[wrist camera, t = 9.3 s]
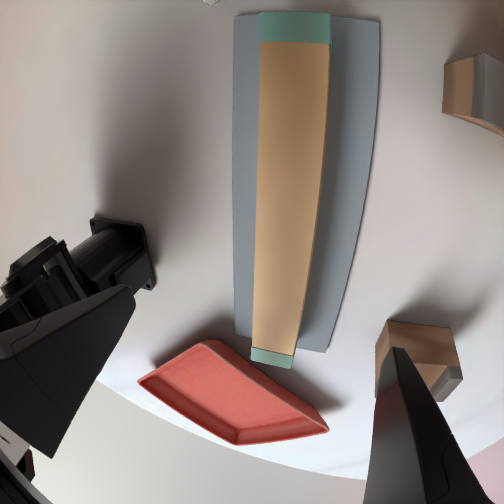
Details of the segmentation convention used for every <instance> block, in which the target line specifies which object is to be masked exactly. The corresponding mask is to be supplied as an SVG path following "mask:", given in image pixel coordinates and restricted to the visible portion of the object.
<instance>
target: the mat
mask: <svg viewBox="0 0 504 504" xmlns="http://www.w3.org/2000/svg"><path fill="white" fill-rule="evenodd" d="M330 17H331V24H332V56H331V72H330V94H329V111H328V125H327V138H326V150H325V160H324V170H323V180H322V189H321V197H320V206H319V214H318V221H317V229H316V236H315V243H314V249H313V256H312V262H311V269H310V275H309V281H308V287H307V293H306V298H305V304H304V309H303V315H302V320H301V325H300V327H301V328H300V333H299V338H298V343H297V347H296V348H300V349H306V350H311V351H316V352H322V353H326V350H327V347H328V344H329V341H330V338H331V334H332V331H333V328H334V325H335V321H336V318H337V315H338V311H339V308H340V304H341V301H342V297H343V293H344V290H345V286H346V282H347V278H348V274H349V270H350V266H351V262H352V258H353V253H354V249H355V245H356V240H357V235H358V231H359V226H360V221H361V216H362V211H363V205H364V200H365V194H366V188H367V182H368V175H369V169H370V162H371V154H372V146H373V138H374V129H375V119H376V107H377V94H378V75H379V23H378V22H373V21H368V20H361V19H355V18H347V17H339V16H330ZM259 27H260V14H253V15H240V16H235V22H234V60H233V134H232V193H233V272H234V315H235V334H238V335H242V336H246V337H250V338H252V330H253V299H254V266H255V233H256V198H257V162H258V125H259V85H260V44H261V42H259Z"/></svg>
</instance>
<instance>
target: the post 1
mask: <svg viewBox="0 0 504 504" xmlns="http://www.w3.org/2000/svg"><path fill="white" fill-rule="evenodd" d="M392 346H398V347H403V348H405V350H406V351H407V353H408V354H409V356H410V358H411V359H412V361H413V363H414V364H415V366H416V368H417V369H418V371H419V373H420V375H421V376H422V378H423V380H424V381H425V383H426V385H427V387H428V389H430V392H431V394H432V396H433V397H434V399H435V401H436V402H443V401H444V400H445V399H446V398H447V397H448V396H449V395H450V394H451V393H452V391H453V390H454V389H455V388H456V387H457V386H458V385H459V383H460V382H461V381H462V380H463V376H462V371H461V367H460V362H459V358H458V354H457V350H456V346H455V343H454V339H453V335H452V332H451V328H443V327H435V326H427V325H420V324H412V323H405V322H398V321H392V320H387V321H386V323H385V326H384V328H383V330H382V332H381V334H380V337H379V339H378V341H377V343H376V345H375V398H377V391H378V385H379V377H380V370H381V365H382V362H383V360H384V358H385V357H386V355H387V353H388V351H389V349H390V348H391V347H392Z"/></svg>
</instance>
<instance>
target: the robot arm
mask: <svg viewBox="0 0 504 504" xmlns="http://www.w3.org/2000/svg"><path fill="white" fill-rule="evenodd" d="M90 227H91V231H92V236H91V237H89V238H88V239H86V240H85V241H84V242H82V243H81V244H79V245H78V246H77V247H75V248H74V249H73V250H71V251H70V252H69V251H68V249H67V247H66V246H67V245H66V243H65V241H64V239H63V240H61V241H59V242H57V241H56V240H54V239H53V238H52V237H51V236H49V237H47V238H46V239H45V240H43V241H42V242H40V243H39V244H37V245H36V246H34V247H33V248H32V249H30V250H29V251H28V252H26V253H25V254H24V255H22V256H21V257H20V258H19V259H17V260H16V261H15V262H14V263H12V264H11V265H10V270H9V276H8V277H7V278H6V281H5V282H4V283H3V284H2V285H1V286H0V289H1V290H2V292H3V295H2V296H0V504H52V503H51V502H50V501H49V500H48V499H47V498H46V497H45V496H44V495H43V494H41V493H40V492H39V491H38V490H37V489H36V488H35V487H34V486H33V485H32V484H31V483H30V482H31V481H32V479H33V478H34V476H35V471H34V465H33V457H32V451H31V450H30V449H29V447H30V445H31V446H32V447H34V448H35V449H37V450H38V451H40V452H41V453H42V454H44V455H45V456H47V457H48V458H50V459H52V458H53V457H54V455H55V453H56V451H57V449H58V447H59V445H60V443H61V441H62V439H63V437H64V435H65V433H66V431H67V429H68V427H69V426H70V424H71V421H72V420H73V418H74V416H75V414H76V412H77V411H78V409H79V407H80V405H81V403H82V401H83V400H84V398H85V396H86V395H87V393H88V391H89V389H90V387H91V386H92V384H93V383H94V381H95V379H96V377H97V376H98V375H99V373H100V372H101V370H102V369H103V367H104V365H105V363H106V361H107V359H108V358H109V356H110V354H111V353H112V351H113V350H114V348H115V346H116V345H117V343H118V341H119V340H120V338H121V336H122V334H123V332H124V330H125V328H126V326H127V324H128V322H129V320H130V318H131V316H132V314H133V312H134V310H135V308H136V302H135V299H134V294H135V293H136V292H137V291H138V290H139V289H140V288H143V289H146V290H150V291H151V290H152V289H153V288H154V287H155V283H154V278H153V274H152V269H151V264H150V259H149V254H148V248H147V243H146V237H145V231H144V228H143V226H142V225H140V224H136V223H130V222H123V221H117V220H110V219H104V218H97V217H93V218H92V219H90ZM137 229H138V230H139V231H138V230H137ZM43 265H44V266H43ZM44 267H45V268H44ZM45 269H46V270H45ZM451 433H452V432H451V430H450V428H449V426H448V424H447V422H446V420H445V418H444V416H443V414H442V412H441V410H440V409H439V407H438V405H437V403H436V401H435V399H434V397H433V396H432V394H431V392H430V390H429V389H428V387H427V385H426V383H425V381H424V380H423V378H422V376H421V375H420V373H419V371H418V369H417V368H416V366H415V364H414V363H413V361H412V359H411V358H410V356H409V354H408V353H407V351H406V350H405V348H403V347H398V346H392V347H391V348H390V349H389V351H388V353H387V355H386V357H385V358H384V360H383V362H382V365H381V370H380V377H379V385H378V391H377V398H376V404H375V410H374V423H373V435H372V446H371V455H370V463H369V470H368V477H367V484H366V490H365V495H364V501H363V504H495V503H493V502H492V501H491V500H490V499H489V498H488V497H487V495H486V494H485V492H484V490H483V489H482V487H481V485H480V484H479V481H478V480H477V478H476V477H475V475H474V473H473V471H472V470H471V468H470V466H469V464H468V463H467V461H466V459H465V457H464V455H463V453H462V451H461V450H460V448H459V446H458V444H457V442H456V440H455V438H454V436H453V434H451Z"/></svg>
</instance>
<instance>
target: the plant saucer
mask: <svg viewBox="0 0 504 504" xmlns="http://www.w3.org/2000/svg"><path fill="white" fill-rule="evenodd" d="M137 382H138V384H139V385H140V386H141V387H143V388H144V389H145V390H147V391H148V392H150V393H151V394H152V395H154V396H155V397H156V398H158V399H159V400H160V401H162V402H163V403H165V404H166V405H168V406H169V407H171V408H172V409H173V410H175V411H176V412H178V413H180V414H181V415H183V416H184V417H186V418H187V419H189V420H190V421H192V422H194V423H195V424H197V425H199V426H200V427H202V428H204V429H205V430H207V431H209V432H210V433H212V434H214V435H216V436H217V437H219V438H221V439H223V440H225V441H227V442H228V443H230V444H233V445H236V446H242V445H253V444H263V443H271V442H278V441H285V440H291V439H297V438H303V437H308V436H313V435H318V434H323V433H327V432H329V430H330V429H329V427H328V425H327V424H326V422H325V421H324V420H323V418H322V417H321V416H320V415H319V414H318V412H317V411H316V410H315V409H314V408H313V407H312V406H310V405H309V404H307V403H306V402H304V401H303V400H301V399H300V398H298V397H297V396H295V395H294V394H292V393H291V392H289V391H288V390H286V389H285V388H283V387H282V386H281V385H279V384H278V383H276V382H275V381H274V380H272V379H271V378H269V377H268V376H267V375H265V374H264V373H262V372H261V371H260V370H258V369H257V368H256V367H254V366H253V365H252V364H250V363H249V362H248V361H246V360H245V359H244V358H242V357H241V356H240V355H239V354H237V353H236V352H235V351H233V350H232V349H231V348H230V347H228V346H227V345H226V344H225V343H223V342H222V341H219V340H207V341H202V342H200V343H198V344H196V345H194V346H192V347H191V348H189V349H187V350H186V351H184V352H183V353H181V354H179V355H178V356H176V357H174V358H173V359H171V360H170V361H168V362H166V363H165V364H163V365H162V366H160V367H159V368H157V369H155V370H154V371H152V372H151V373H149V374H147V375H145V376H144V377H142V378H140V379H139V380H137Z"/></svg>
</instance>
